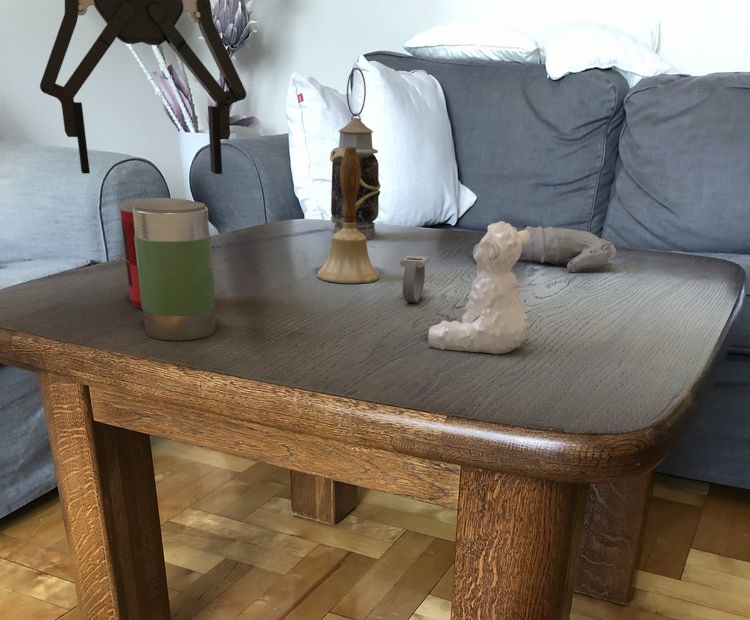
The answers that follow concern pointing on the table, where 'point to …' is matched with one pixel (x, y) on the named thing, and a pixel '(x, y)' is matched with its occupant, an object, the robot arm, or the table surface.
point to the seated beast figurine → (490, 299)
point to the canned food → (133, 245)
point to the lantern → (369, 179)
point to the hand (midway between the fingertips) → (152, 172)
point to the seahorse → (566, 248)
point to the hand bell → (349, 233)
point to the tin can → (175, 269)
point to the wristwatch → (413, 277)
